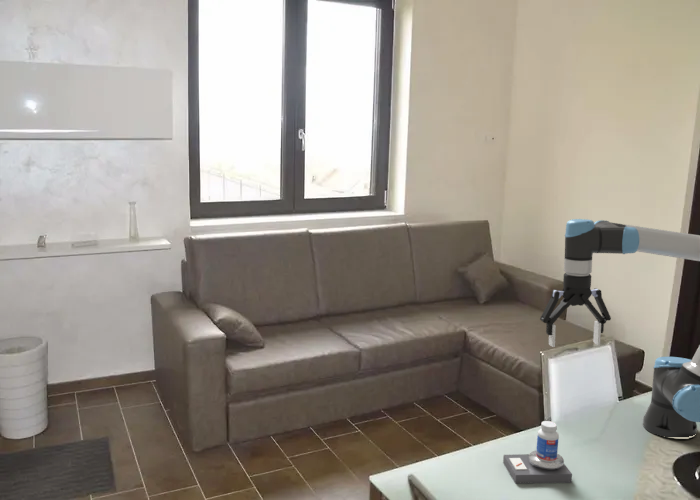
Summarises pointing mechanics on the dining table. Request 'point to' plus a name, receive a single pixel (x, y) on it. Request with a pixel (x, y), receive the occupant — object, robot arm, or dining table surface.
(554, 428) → the pill bottle
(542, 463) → the pan
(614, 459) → the dining table surface
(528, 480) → the scale base
